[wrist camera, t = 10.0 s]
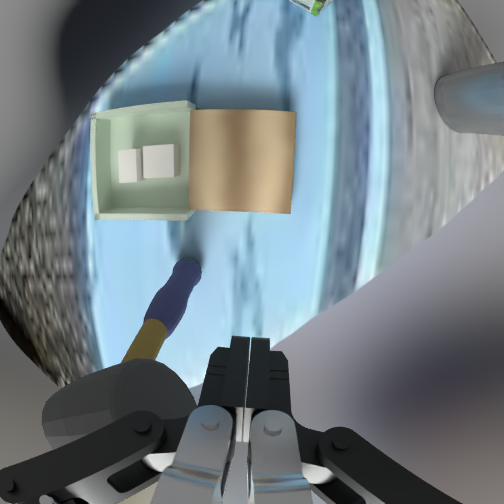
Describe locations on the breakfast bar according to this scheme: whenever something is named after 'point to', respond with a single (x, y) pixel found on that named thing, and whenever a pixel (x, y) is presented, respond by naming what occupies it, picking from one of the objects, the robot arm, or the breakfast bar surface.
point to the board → (241, 160)
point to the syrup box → (312, 5)
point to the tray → (132, 137)
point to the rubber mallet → (129, 373)
